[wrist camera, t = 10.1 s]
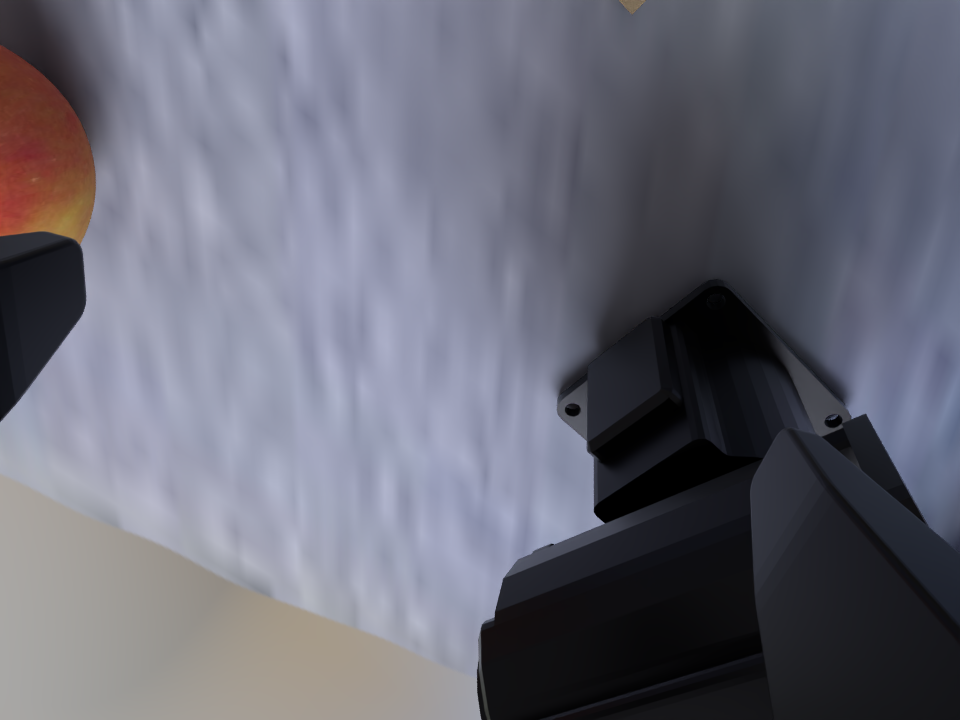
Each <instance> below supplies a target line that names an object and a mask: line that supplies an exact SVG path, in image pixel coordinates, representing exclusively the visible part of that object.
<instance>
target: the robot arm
mask: <svg viewBox="0 0 960 720" xmlns="http://www.w3.org/2000/svg"><path fill="white" fill-rule="evenodd" d="M713 294H721V295H723V298H722V300H721V301H720V302H718V303H716V304H714V303H709V302H707V299H708V298H709V297H710V296H711V295H713ZM85 305H86V287H85V274H84V261H83V252H82V248H81V246H80V244H79V243H78V242H77V241H76V240H75V239H72V238H70V237H66V236H62V235H58V234H54V233H51V232H46V231H38V232H30V233H22V234H14V235H6V236H0V422H1V421H2V420H3V419H4V417H5V416H6V415H7V414H8V413H9V412H10V411H11V409H12V408H13V407H14V406H15V405H16V404H17V402H18V401H19V400H20V399H21V397H22V396H23V395H24V394H25V392H26V391H27V390H28V388H29V387H30V386H31V384H32V383H33V382H34V380H35V379H36V378H37V376H38V375H39V374H40V372H41V371H42V369H43V368H44V367H45V365H46V364H47V363H48V361H49V360H50V359H51V357H52V356H53V355H54V353H55V352H56V350H57V349H58V348H59V346H60V345H61V344H62V342H63V341H64V340H65V338H66V337H67V336H68V334H69V333H70V332H71V330H72V329H73V327H74V326H75V325H76V323H77V322H78V321H79V319H80V318H81V316H82V314H83V312H84V309H85ZM570 403H575V404H577V405H579V406H580V407H579V408H577V409H569V408H567V405H568V404H570ZM557 412H558V415H559V416H560V418H561V419H562V420H563V421H565V422H566V423H567V424H568V425H569V426H570V427H571V428H573V429H574V430H575V431H576V432H577V433H578V434H579V435H581V436H582V437H583V438H584V439H585V440H586V441H587V451H588V453H589V454H591V455H592V456H593V457H594V513H595V515H596V516H597V517H598V518H599V519H600V520H602V521H603V522H604V523H605V524H603V525H601V526H598V527H596V528H594V529H591V530H589V531H586V532H584V533H581V534H579V535H577V536H574V537H572V538H569V539H567V540H564V541H562V542H560V543H557V544H555V545H554V544H549V545H547V546H544V547H542V548H539V549H537V550H535V551H533V553H532V554H530V555H528V556H526V557H523V558H521V559H518V560H517V562H516V563H515V564H514V565H513V567H512V568H511V569H510V571H509V572H508V573H507V574H506V576H505V577H504V578H503V582H502V586H501V590H500V594H499V598H498V602H497V606H496V610H495V618H492V619H490V620H487V621H485V622H484V623H483V624H482V627H481V631H480V635H479V639H478V644H479V662H478V669H477V693H478V701H479V707H480V714H481V719H482V720H960V553H959V552H958V551H957V550H956V549H954V548H953V547H952V546H951V545H950V544H948V543H947V542H946V541H945V540H944V539H942V538H941V537H940V536H939V535H938V534H936V533H935V532H934V531H933V530H932V529H930V528H929V526H928V524H927V523H926V521H925V519H924V517H923V515H922V514H921V512H920V510H919V508H918V506H917V505H916V503H915V501H914V499H913V497H912V496H911V494H910V492H909V490H908V489H907V487H906V485H905V483H904V481H903V480H902V478H901V476H900V474H899V472H898V471H897V469H896V467H895V465H894V463H893V462H892V460H891V458H890V456H889V455H888V453H887V451H886V449H885V447H884V446H883V444H882V442H881V440H880V438H879V437H878V435H877V433H876V431H875V429H874V428H873V426H872V424H871V422H870V420H869V419H868V417H867V415H866V414H863V415H861V416H858V417H856V418H854V419H851V415H850V413H849V412H848V410H847V408H846V406H845V404H844V403H843V402H842V401H841V400H840V399H839V398H838V397H837V396H836V395H835V394H834V393H833V392H832V391H831V390H830V389H829V388H828V387H827V386H826V385H825V384H824V383H823V382H822V381H821V380H820V379H819V377H818V376H817V375H816V374H815V373H814V372H813V371H812V370H811V369H810V368H809V367H808V366H807V365H806V364H805V363H804V362H803V361H802V360H801V359H800V358H799V357H798V356H797V355H796V354H795V353H794V352H793V351H792V350H791V349H790V347H789V346H788V345H787V344H786V343H785V342H784V341H783V340H782V339H781V338H780V337H779V336H778V335H777V334H776V333H775V332H774V331H773V330H772V329H771V328H770V327H769V326H768V325H767V324H766V323H765V322H764V321H763V320H762V319H761V317H760V316H759V315H758V314H757V313H756V312H755V311H754V310H753V309H752V308H751V307H750V306H749V305H748V304H747V303H746V302H745V301H744V300H743V299H742V298H741V297H740V296H739V295H738V294H737V293H736V292H735V291H734V290H733V289H732V287H731V286H730V285H729V284H727V283H726V282H724V281H721V280H710V281H708V282H706V283H704V284H702V285H701V286H700V287H698V288H697V289H696V290H694V291H693V292H692V293H691V294H689V295H688V296H687V297H685V298H684V299H683V300H682V301H680V302H679V303H678V304H676V305H675V306H674V307H673V308H671V309H670V310H669V311H667V312H666V313H665V314H664V315H662V316H661V317H650V318H648V319H646V320H645V321H644V322H643V323H641V324H640V325H639V326H638V327H636V328H635V329H634V330H632V331H631V332H630V333H629V334H627V335H626V336H625V337H623V338H622V339H621V340H620V341H618V342H617V343H616V344H615V345H613V346H612V347H611V348H609V349H608V350H607V351H606V352H604V353H603V354H602V355H601V356H599V357H598V358H597V359H595V360H594V361H593V362H592V363H590V364H589V366H588V374H586V375H585V376H584V377H582V378H581V379H580V380H578V381H577V382H576V383H575V384H573V385H572V386H571V387H569V388H568V389H567V390H566V391H564V392H563V393H562V394H561V395H560V396H559V398H558V402H557ZM832 414H838V416H837V417H836V418H835V419H833V420H825V419H826V418H827V417H828V416H829V415H832Z"/></svg>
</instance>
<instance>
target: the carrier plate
mask: <svg viewBox="0 0 960 720" xmlns="http://www.w3.org/2000/svg"><path fill="white" fill-rule="evenodd" d="M619 1H620V2H621V3H622V4H623V5H624V7H625V8H626V9H627V10H628V11H629V12H630V13H631V14H633V13H634V12H635V11H636V10H637V9H638V8H639V7H640V6H641V5H642V4H643V3H644V2H645V1H646V0H619Z"/></svg>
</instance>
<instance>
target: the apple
mask: <svg viewBox="0 0 960 720" xmlns="http://www.w3.org/2000/svg"><path fill="white" fill-rule="evenodd" d="M95 191H96V179H95V167H94V160H93V156H92V152H91V148H90V144H89V141H88V138H87V136H86V133H85V131H84V129H83V126H82V124H81V122H80V120H79V119H78V117H77V115H76V113H75V112H74V110H73V108H72V107H71V105H70V104H69V103H68V101H67V100H66V99H65V97H64V96H63V95H62V94H61V93H60V92H59V90H58V89H57V88H56V87H55V86H54V85H53V84H52V83H51V82H50V81H49V80H48V79H47V78H46V77H45V76H44V75H43V74H42V73H40V72H39V71H38V70H37V69H36V68H34V67H33V66H32V65H30V64H29V63H28V62H26V61H25V60H24V59H22V58H21V57H19V56H18V55H16V54H15V53H13V52H11V51H10V50H8V49H7V48H5V47H3V46H1V45H0V236H6V235H14V234H22V233H30V232H38V231H46V232H51V233H54V234H58V235H62V236H66V237H70V238H72V239H75V240H76V241H77V242H78V243H79V244H81V241H82V239H83V237H84V235H85V233H86V230H87V228H88V225H89V222H90V219H91V215H92V211H93V206H94V200H95Z"/></svg>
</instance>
